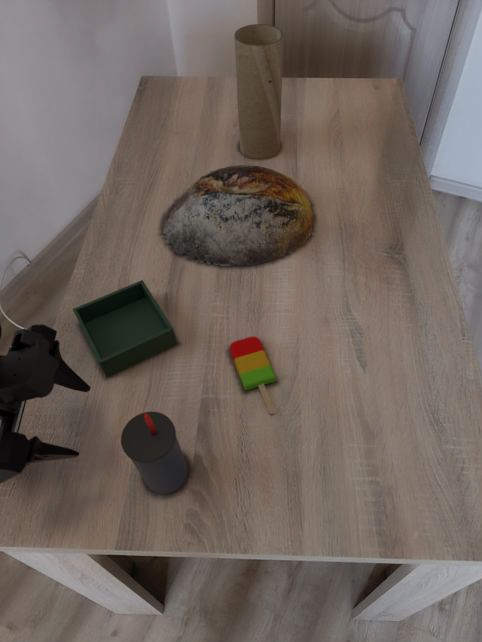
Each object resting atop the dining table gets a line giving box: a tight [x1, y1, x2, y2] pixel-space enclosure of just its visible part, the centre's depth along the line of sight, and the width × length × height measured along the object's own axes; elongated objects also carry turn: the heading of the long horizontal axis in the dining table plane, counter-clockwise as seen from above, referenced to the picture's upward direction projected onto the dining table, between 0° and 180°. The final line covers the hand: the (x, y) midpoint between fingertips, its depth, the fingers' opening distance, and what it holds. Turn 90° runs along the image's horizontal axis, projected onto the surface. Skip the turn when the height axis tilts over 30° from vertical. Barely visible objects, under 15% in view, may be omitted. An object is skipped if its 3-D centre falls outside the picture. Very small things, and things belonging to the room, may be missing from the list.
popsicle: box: [229, 336, 277, 415], centre depth 79 cm, size 6×15×2 cm, turn 20°
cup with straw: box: [120, 411, 189, 495], centre depth 63 cm, size 7×7×18 cm
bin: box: [72, 279, 178, 378], centre depth 83 cm, size 13×13×4 cm
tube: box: [234, 23, 284, 160], centre depth 107 cm, size 10×10×25 cm
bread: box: [162, 164, 315, 267], centre depth 98 cm, size 27×32×10 cm
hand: (83, 421), depth 61 cm, fingers open, 9 cm apart
